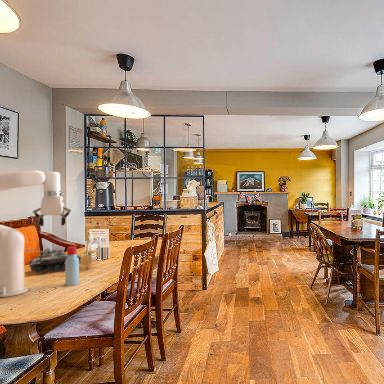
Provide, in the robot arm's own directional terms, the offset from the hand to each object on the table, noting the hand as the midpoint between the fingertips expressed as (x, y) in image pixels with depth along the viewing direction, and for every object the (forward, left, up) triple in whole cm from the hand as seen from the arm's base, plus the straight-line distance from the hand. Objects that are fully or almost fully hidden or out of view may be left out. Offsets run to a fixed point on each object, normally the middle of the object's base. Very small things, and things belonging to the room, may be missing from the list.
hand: (52, 225), depth 155 cm
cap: (+5, -9, -16) cm, 19 cm away
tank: (+19, +29, -32) cm, 47 cm away
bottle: (+5, -9, -32) cm, 34 cm away
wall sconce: (+29, +11, -32) cm, 45 cm away
